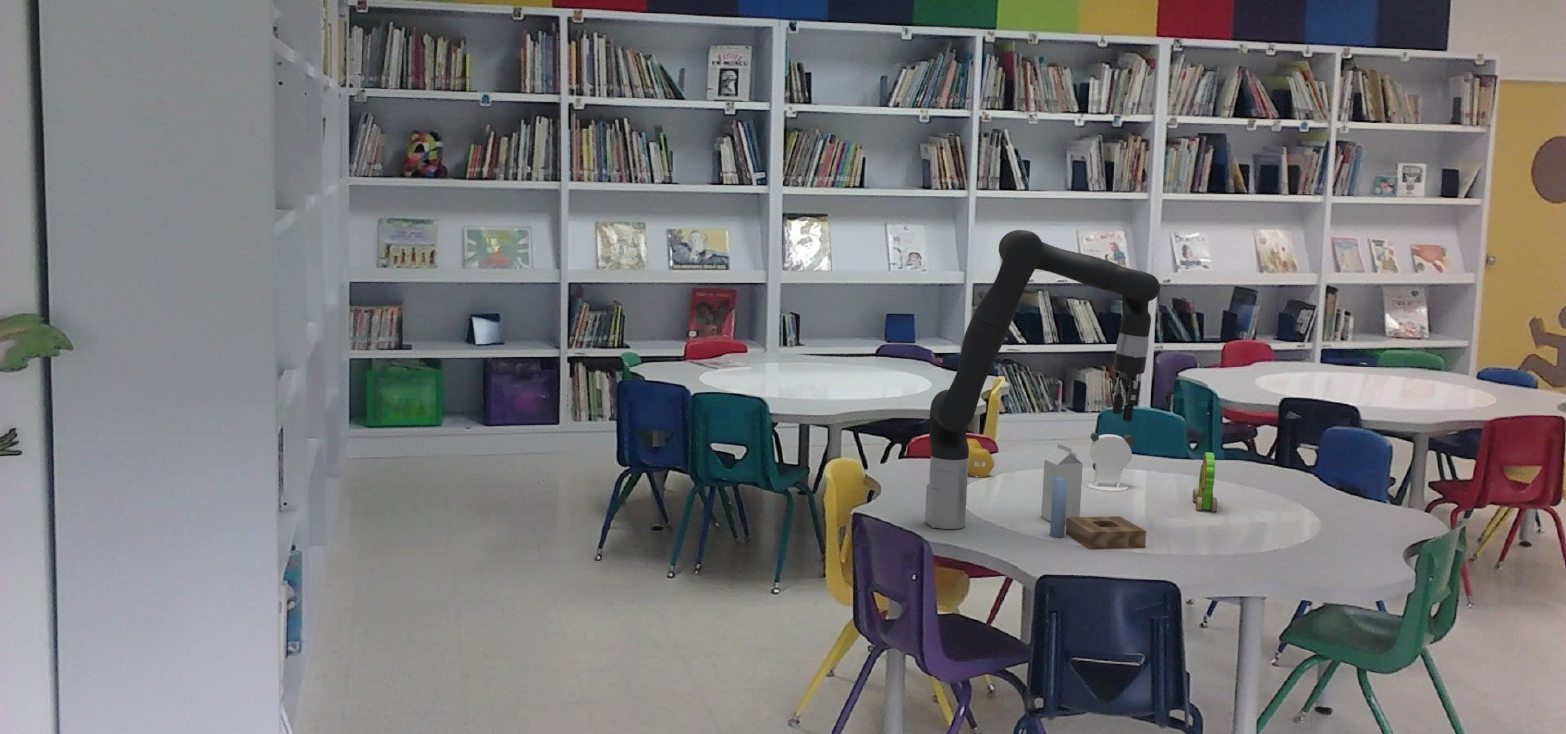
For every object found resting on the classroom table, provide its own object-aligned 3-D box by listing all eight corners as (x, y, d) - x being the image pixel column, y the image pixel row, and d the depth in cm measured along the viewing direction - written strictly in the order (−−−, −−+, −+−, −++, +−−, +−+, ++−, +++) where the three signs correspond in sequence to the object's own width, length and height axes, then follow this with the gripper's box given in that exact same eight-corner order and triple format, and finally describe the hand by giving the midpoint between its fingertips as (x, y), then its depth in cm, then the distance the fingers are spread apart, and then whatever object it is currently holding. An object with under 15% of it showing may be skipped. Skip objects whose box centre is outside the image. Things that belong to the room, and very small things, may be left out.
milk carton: (1053, 523, 342) (1058, 449, 340) (1040, 516, 349) (1045, 443, 346) (1079, 522, 344) (1084, 448, 342) (1066, 515, 351) (1070, 442, 348)
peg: (1053, 537, 329) (1056, 480, 327) (1047, 534, 332) (1051, 477, 330) (1066, 537, 329) (1070, 480, 327) (1060, 533, 333) (1064, 477, 331)
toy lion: (1191, 500, 374) (1195, 445, 371) (1212, 501, 372) (1216, 446, 370) (1196, 513, 358) (1200, 456, 356) (1218, 515, 357) (1222, 457, 355)
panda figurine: (1127, 483, 391) (1130, 432, 389) (1133, 492, 380) (1136, 439, 378) (1084, 481, 393) (1087, 430, 390) (1089, 490, 381) (1092, 437, 379)
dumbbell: (952, 464, 412) (953, 437, 410) (981, 465, 412) (983, 438, 411) (963, 478, 393) (964, 450, 392) (994, 478, 393) (996, 450, 392)
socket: (1089, 548, 320) (1090, 532, 319) (1065, 533, 333) (1066, 517, 333) (1145, 547, 322) (1146, 530, 322) (1119, 532, 336) (1120, 516, 335)
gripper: (1108, 346, 343) (1098, 409, 346) (1124, 356, 329) (1114, 421, 332) (1137, 349, 344) (1127, 412, 347) (1155, 359, 330) (1145, 424, 333)
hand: (1121, 417), depth 339 cm, fingers open, 8 cm apart
